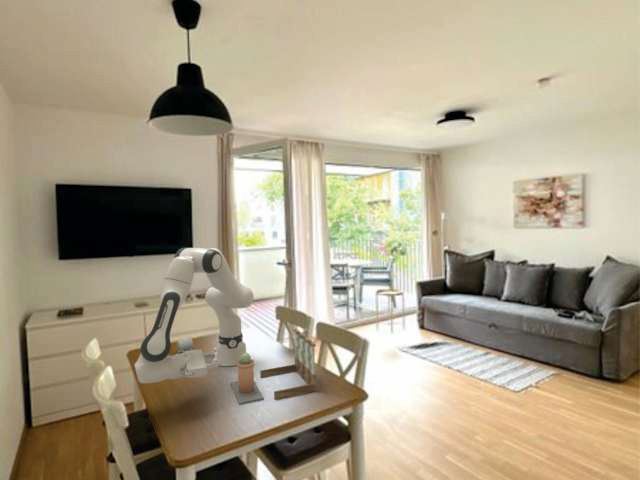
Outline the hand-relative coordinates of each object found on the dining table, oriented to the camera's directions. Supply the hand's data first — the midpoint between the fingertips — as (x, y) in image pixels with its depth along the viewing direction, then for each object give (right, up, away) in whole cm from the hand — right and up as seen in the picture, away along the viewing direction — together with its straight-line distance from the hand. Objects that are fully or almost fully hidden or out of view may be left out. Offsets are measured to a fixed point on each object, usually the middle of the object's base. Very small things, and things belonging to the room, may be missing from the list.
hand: (216, 359), depth 151 cm
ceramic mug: (-32, -14, +53) cm, 63 cm away
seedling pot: (+11, -15, +5) cm, 19 cm away
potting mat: (+11, -15, +5) cm, 20 cm away
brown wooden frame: (+28, -15, +12) cm, 34 cm away
